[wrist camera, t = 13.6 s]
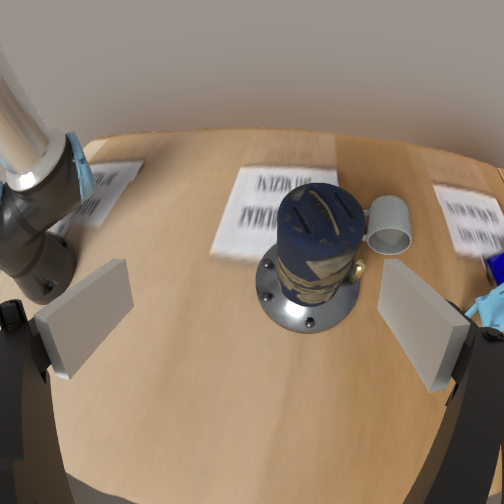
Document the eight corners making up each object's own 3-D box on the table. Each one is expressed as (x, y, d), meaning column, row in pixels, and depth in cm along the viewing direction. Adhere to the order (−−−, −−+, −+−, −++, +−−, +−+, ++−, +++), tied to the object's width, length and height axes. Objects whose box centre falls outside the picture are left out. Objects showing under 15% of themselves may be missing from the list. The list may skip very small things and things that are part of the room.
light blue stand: (451, 310, 40) (489, 281, 30) (482, 301, 40) (520, 273, 29) (460, 352, 36) (503, 333, 26) (491, 340, 36) (534, 319, 25)
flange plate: (254, 333, 42) (250, 321, 36) (257, 239, 49) (255, 216, 44) (361, 331, 40) (374, 319, 34) (350, 239, 48) (359, 217, 42)
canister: (281, 315, 41) (285, 254, 25) (272, 257, 46) (269, 176, 30) (345, 304, 41) (384, 240, 25) (330, 248, 46) (353, 168, 30)
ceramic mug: (401, 220, 49) (414, 194, 42) (402, 258, 45) (418, 234, 39) (348, 210, 51) (355, 182, 45) (345, 248, 47) (354, 222, 41)
